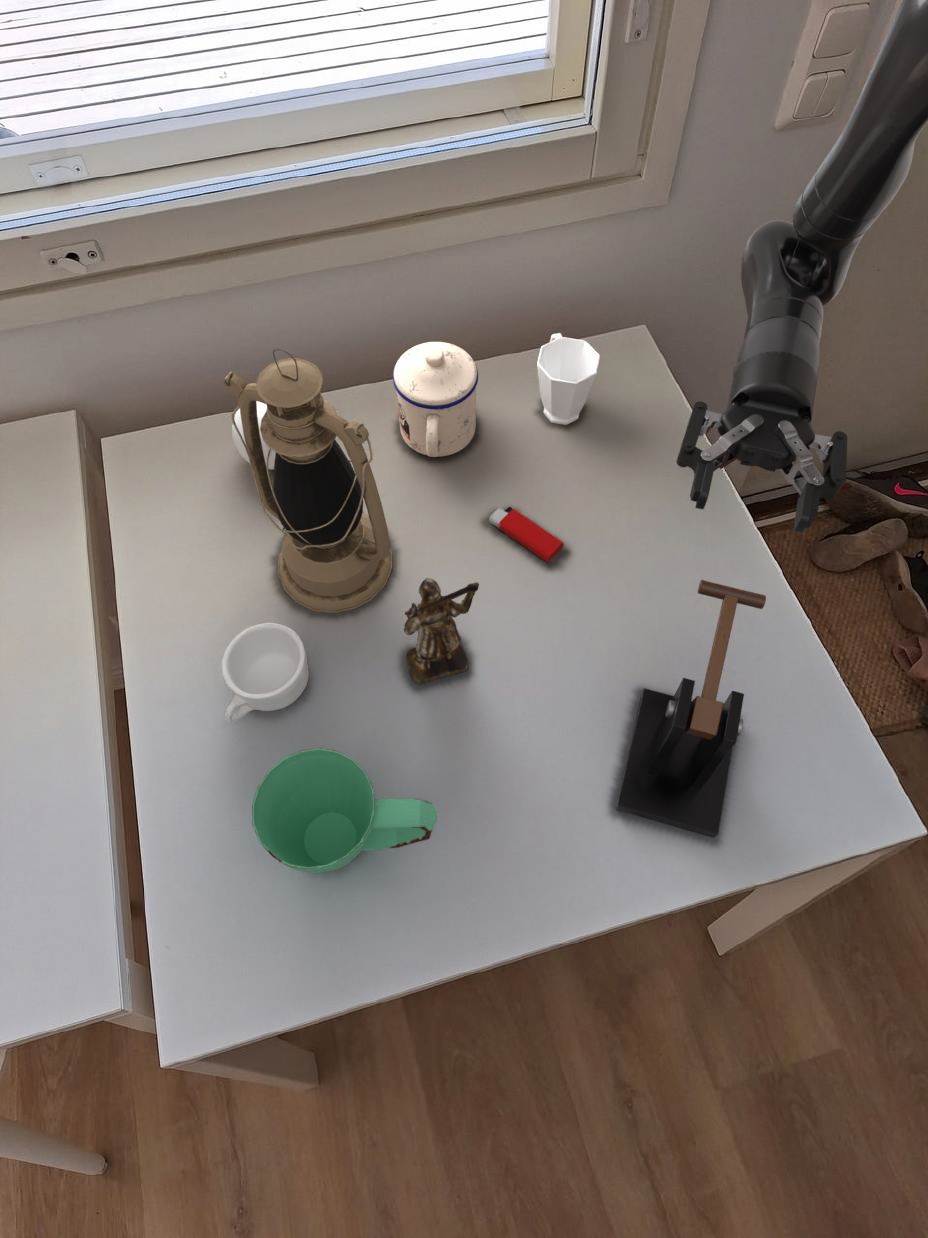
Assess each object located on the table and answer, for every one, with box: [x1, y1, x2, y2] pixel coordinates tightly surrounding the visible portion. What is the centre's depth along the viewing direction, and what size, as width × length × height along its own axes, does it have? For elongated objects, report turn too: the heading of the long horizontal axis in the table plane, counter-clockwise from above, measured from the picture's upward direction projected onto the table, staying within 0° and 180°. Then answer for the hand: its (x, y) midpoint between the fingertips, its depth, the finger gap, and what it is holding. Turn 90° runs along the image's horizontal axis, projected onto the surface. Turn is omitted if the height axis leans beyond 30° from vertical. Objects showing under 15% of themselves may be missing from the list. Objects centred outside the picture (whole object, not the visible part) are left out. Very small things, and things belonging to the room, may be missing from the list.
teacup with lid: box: [392, 341, 479, 458], centre depth 96 cm, size 12×9×12 cm
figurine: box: [403, 577, 480, 685], centre depth 81 cm, size 7×4×15 cm, turn 107°
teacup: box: [221, 622, 310, 724], centre depth 83 cm, size 10×8×5 cm
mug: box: [251, 747, 438, 874], centre depth 74 cm, size 15×10×10 cm
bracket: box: [615, 677, 745, 839], centre depth 76 cm, size 12×9×13 cm
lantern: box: [222, 348, 393, 614], centre depth 80 cm, size 14×12×30 cm
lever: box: [685, 579, 767, 740], centre depth 74 cm, size 13×6×2 cm, turn 163°
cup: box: [536, 332, 601, 426], centre depth 100 cm, size 7×10×8 cm
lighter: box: [488, 506, 565, 563], centre depth 94 cm, size 3×1×8 cm
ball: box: [231, 401, 276, 471], centre depth 96 cm, size 8×8×8 cm
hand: (751, 515), depth 76 cm, fingers open, 8 cm apart
